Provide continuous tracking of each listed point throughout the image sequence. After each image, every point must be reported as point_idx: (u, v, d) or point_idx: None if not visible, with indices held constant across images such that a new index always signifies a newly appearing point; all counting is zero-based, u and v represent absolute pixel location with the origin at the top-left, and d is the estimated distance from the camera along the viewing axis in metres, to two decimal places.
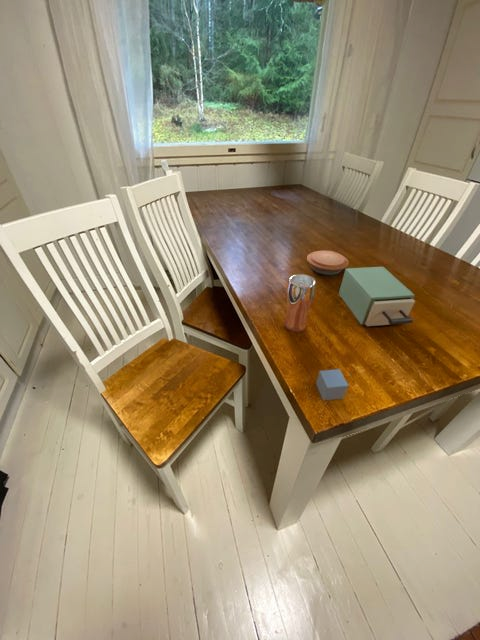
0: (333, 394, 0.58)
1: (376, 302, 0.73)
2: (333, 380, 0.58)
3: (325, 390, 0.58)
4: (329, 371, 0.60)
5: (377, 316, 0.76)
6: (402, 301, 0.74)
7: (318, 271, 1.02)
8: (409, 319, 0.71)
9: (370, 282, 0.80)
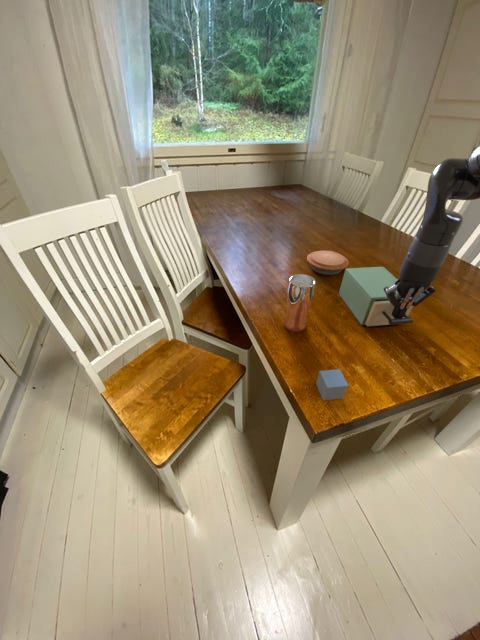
0: (333, 394, 0.58)
1: (376, 302, 0.73)
2: (333, 380, 0.58)
3: (325, 390, 0.58)
4: (329, 371, 0.60)
5: (377, 316, 0.76)
6: None
7: (318, 271, 1.02)
8: (409, 319, 0.71)
9: (370, 282, 0.80)
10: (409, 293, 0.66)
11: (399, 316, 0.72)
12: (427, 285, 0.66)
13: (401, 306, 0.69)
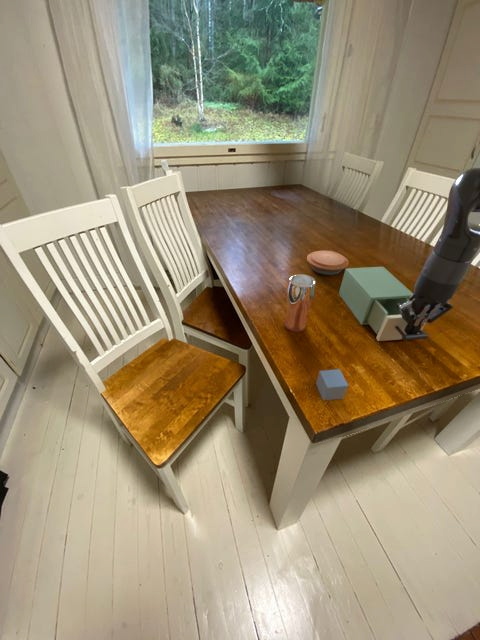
0: (333, 394, 0.58)
1: (389, 316, 0.68)
2: (333, 380, 0.58)
3: (325, 390, 0.58)
4: (329, 371, 0.60)
5: (389, 331, 0.71)
6: None
7: (318, 271, 1.02)
8: (424, 335, 0.67)
9: (370, 282, 0.80)
10: (425, 310, 0.62)
11: (413, 333, 0.67)
12: (444, 301, 0.62)
13: (415, 323, 0.65)
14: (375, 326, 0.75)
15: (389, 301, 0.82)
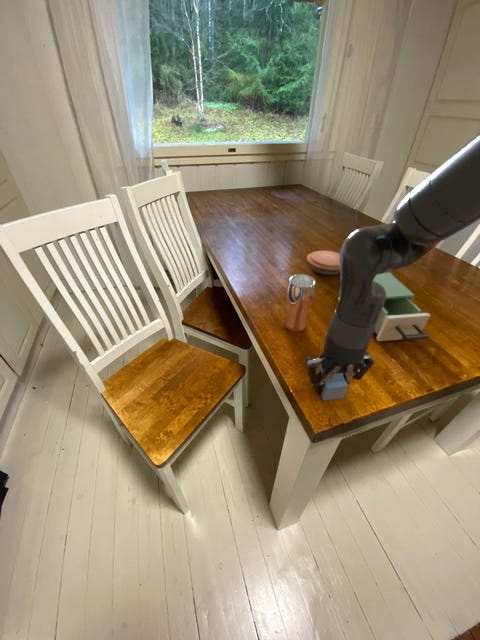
0: (333, 394, 0.58)
1: (389, 316, 0.68)
2: (333, 380, 0.58)
3: (325, 390, 0.58)
4: None
5: (389, 331, 0.71)
6: (416, 315, 0.69)
7: (318, 271, 1.02)
8: (425, 335, 0.67)
9: None
10: (334, 371, 0.54)
11: (321, 391, 0.59)
12: None
13: (321, 382, 0.57)
14: None
15: (389, 301, 0.82)
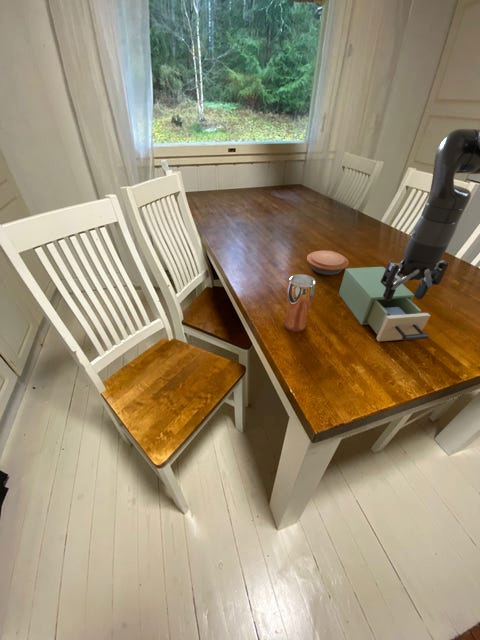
0: None
1: (389, 316, 0.68)
2: (396, 313, 0.73)
3: None
4: (391, 308, 0.75)
5: (389, 331, 0.71)
6: (416, 315, 0.69)
7: (318, 271, 1.02)
8: (425, 335, 0.67)
9: (370, 282, 0.80)
10: (412, 274, 0.64)
11: (391, 297, 0.69)
12: (433, 266, 0.64)
13: (394, 286, 0.66)
14: (375, 326, 0.75)
15: (389, 301, 0.82)
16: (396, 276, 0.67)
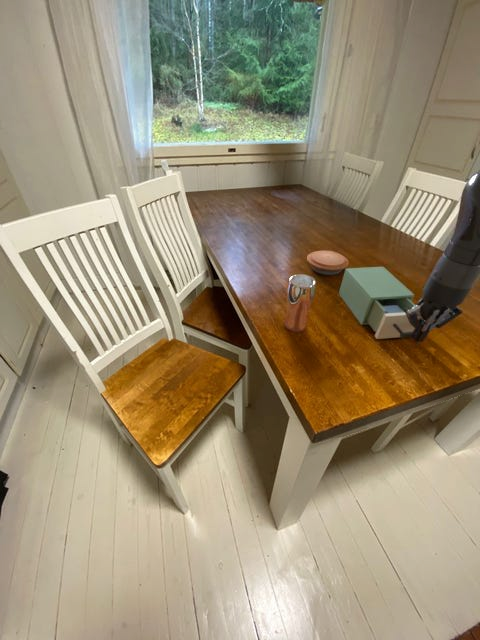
0: None
1: (387, 314, 0.69)
2: (394, 311, 0.74)
3: None
4: (389, 306, 0.75)
5: (387, 329, 0.71)
6: None
7: (318, 271, 1.02)
8: None
9: (370, 282, 0.80)
10: (433, 315, 0.59)
11: (420, 339, 0.65)
12: (454, 306, 0.59)
13: (423, 328, 0.62)
14: (373, 324, 0.75)
15: (388, 299, 0.83)
16: (420, 318, 0.63)
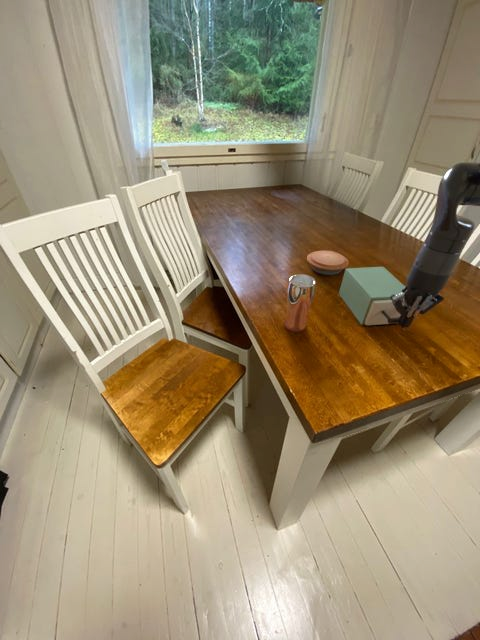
0: None
1: (375, 301, 0.74)
2: (383, 299, 0.78)
3: None
4: None
5: (376, 315, 0.76)
6: None
7: (318, 271, 1.02)
8: None
9: (370, 282, 0.80)
10: (417, 301, 0.64)
11: (406, 324, 0.69)
12: (435, 293, 0.64)
13: (408, 314, 0.67)
14: None
15: None
16: (405, 304, 0.67)
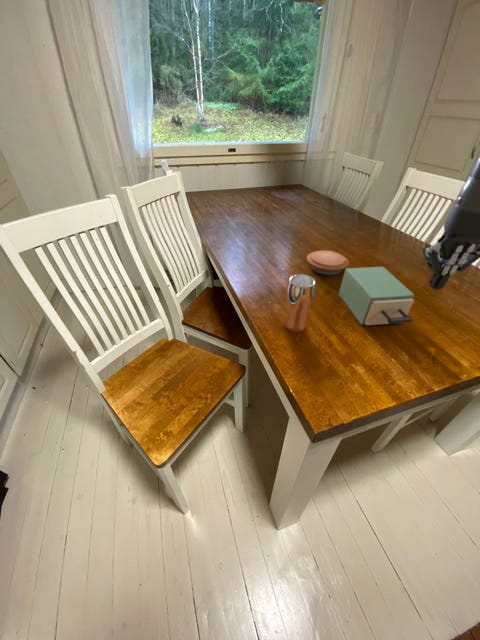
0: None
1: (375, 301, 0.74)
2: (383, 299, 0.78)
3: None
4: None
5: (376, 315, 0.76)
6: (401, 300, 0.74)
7: (318, 271, 1.02)
8: (408, 318, 0.72)
9: (370, 282, 0.80)
10: (456, 253, 0.53)
11: (439, 285, 0.58)
12: (479, 243, 0.53)
13: (443, 271, 0.56)
14: None
15: None
16: (440, 259, 0.56)
